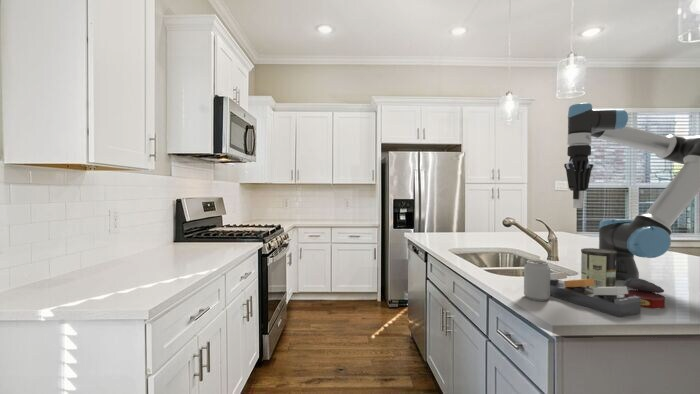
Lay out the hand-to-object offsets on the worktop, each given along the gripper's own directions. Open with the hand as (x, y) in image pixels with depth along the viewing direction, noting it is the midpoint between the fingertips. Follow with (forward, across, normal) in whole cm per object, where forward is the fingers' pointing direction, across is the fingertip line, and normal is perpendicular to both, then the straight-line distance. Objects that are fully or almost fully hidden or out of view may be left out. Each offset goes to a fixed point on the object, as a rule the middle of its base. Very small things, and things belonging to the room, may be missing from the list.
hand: (578, 207), depth 137 cm
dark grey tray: (+28, -20, -15) cm, 38 cm away
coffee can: (+29, -3, -10) cm, 30 cm away
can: (+29, -31, -9) cm, 43 cm away
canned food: (+29, -4, -25) cm, 38 cm away
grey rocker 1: (+23, -20, -6) cm, 31 cm away
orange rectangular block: (+23, -20, -15) cm, 34 cm away
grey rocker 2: (+23, -20, -25) cm, 39 cm away
